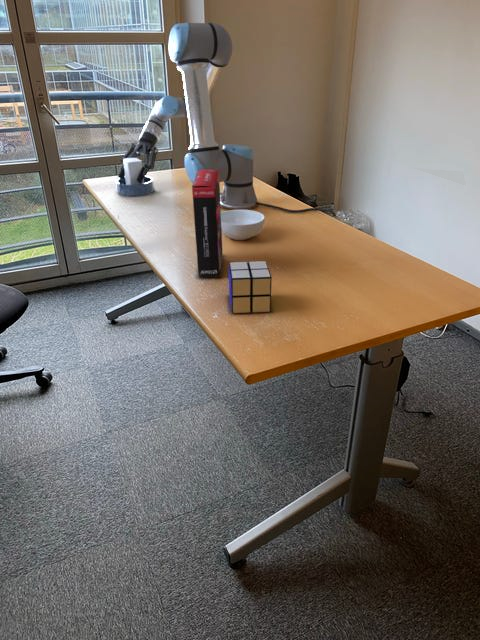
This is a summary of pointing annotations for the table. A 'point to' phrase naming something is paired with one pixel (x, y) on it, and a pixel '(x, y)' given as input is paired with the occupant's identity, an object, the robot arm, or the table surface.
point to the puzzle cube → (249, 287)
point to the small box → (132, 170)
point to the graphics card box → (207, 222)
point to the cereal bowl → (241, 223)
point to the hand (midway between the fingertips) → (129, 180)
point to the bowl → (135, 187)
